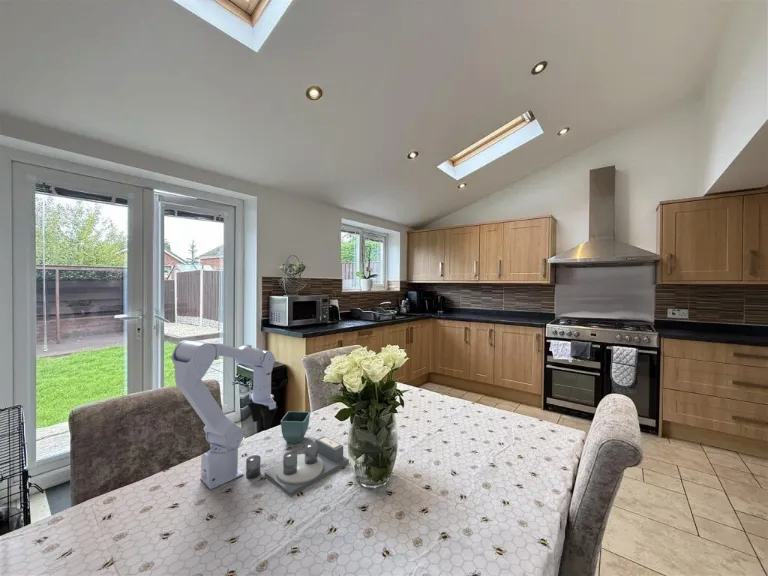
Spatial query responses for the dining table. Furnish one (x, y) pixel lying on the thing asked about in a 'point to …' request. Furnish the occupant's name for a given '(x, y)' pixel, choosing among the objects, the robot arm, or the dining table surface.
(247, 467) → the cylinder
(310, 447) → the cylinder
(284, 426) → the flower pot
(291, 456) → the cylinder
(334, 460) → the scale
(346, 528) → the dining table surface
